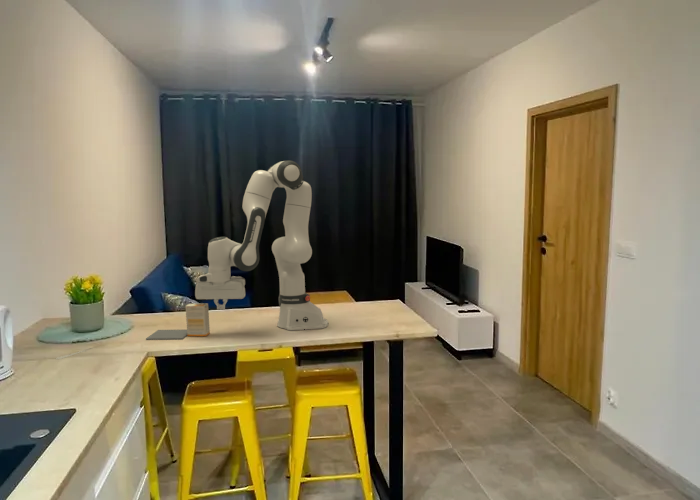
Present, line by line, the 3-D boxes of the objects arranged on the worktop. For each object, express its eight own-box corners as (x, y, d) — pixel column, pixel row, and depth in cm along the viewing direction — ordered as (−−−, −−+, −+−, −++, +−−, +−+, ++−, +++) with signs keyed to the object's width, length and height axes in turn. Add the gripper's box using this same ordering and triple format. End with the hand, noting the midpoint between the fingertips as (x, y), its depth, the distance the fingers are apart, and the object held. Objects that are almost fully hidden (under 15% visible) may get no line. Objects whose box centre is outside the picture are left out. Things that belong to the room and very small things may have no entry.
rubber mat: (192, 330, 222) (192, 329, 222) (182, 339, 209) (182, 338, 209) (158, 331, 222) (158, 329, 222) (145, 339, 209) (145, 338, 209)
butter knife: (53, 358, 188) (57, 359, 186) (112, 341, 208) (117, 342, 207) (53, 359, 188) (58, 360, 186) (112, 342, 208) (117, 343, 207)
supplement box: (210, 333, 217) (208, 303, 216) (206, 336, 213) (204, 305, 211) (191, 333, 218) (189, 302, 217) (186, 336, 213) (185, 305, 212)
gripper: (246, 274, 215) (247, 307, 217) (197, 275, 216) (199, 307, 217) (243, 277, 209) (244, 310, 211) (193, 278, 209) (194, 311, 211)
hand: (221, 309), depth 214 cm, fingers closed
